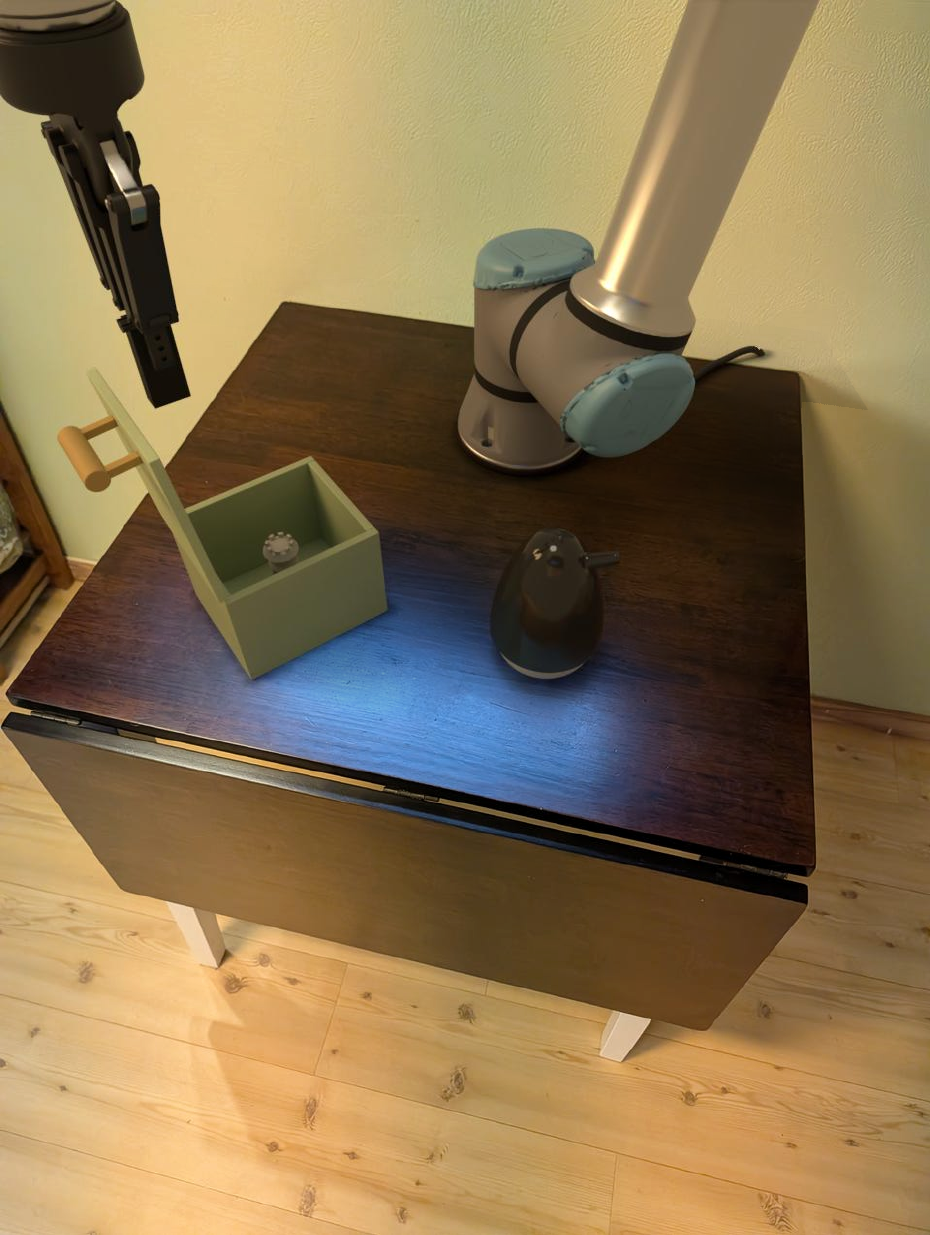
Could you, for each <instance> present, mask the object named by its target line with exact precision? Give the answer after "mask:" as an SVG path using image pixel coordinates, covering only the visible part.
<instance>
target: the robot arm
mask: <svg viewBox="0 0 930 1235" xmlns="http://www.w3.org/2000/svg"><path fill="white" fill-rule="evenodd" d="M820 1H821V0H687V2H686V6H685V7H684V12H683V14H682V16H681V19H680V22H679V25H678V28H677V30H676V34H675V37H674V39H673V41H672V42H673V43H672V45H671V48H670V51H669V54H668V56H667V59H666V62H665V65H664V68H663V70H662V74H661V76H660V79H659V82H658V85H657V87H656V90H655V92H654V95H653V99H652V101H651V104H650V106H649V110H648V112H647V116H646V119H645V121H644V124H643V127H642V130H641V133H640V135H639V138H638V141H637V144H636V146H635V149H634V153H633V154H632V158H631V160H630V165H629V166H628V168H627V172H626V175H625V178H624V181H623V183H622V185H621V186H622V187H621V189H620V192H619V195H618V197H617V200H616V203H615V206H614V209H613V212H612V214H611V217H610V220H609V222H608V223H609V224H608V226H607V228H606V231H605V234H604V236H603V240H602V242H601V245H600V249H599V251H598V253H597V257H596V259H595V249H594V246H593V244H592V243H591V242H590V241H589V239H587V238H586V237H584V236H583V235H581V234H579V233H576V232H574V231H568V230H565V229H559V228H549V227H548V228H547V227H535V228H525V229H518V230H514V231H509V232H506V233H505V232H504V233H502V234H500V235H498V236H496V237H494V238H492V239H490V240H489V241H488V242H485V244H484V245H483V247H482V248H481V249H480V250H479V251H478V253H477V256H476V258H475V266H474V274H473V280H472V286H473V289H474V290H473V300H474V302H473V312H474V313H473V353H474V354H473V376H472V378H471V382H470V383H469V386H468V389H467V391H466V394H465V396H464V398H463V402H462V404H461V406H460V409H459V414H458V419H457V436H458V442H459V444H460V446H461V448H462V449H463V450H464V452H465V453H466V454H467V455H468V456H469V457H470V458H471V459H472V460H474V461H475V462H476V463H478V464H479V465H481V466H483V467H485V468H486V469H490V470H492V471H495V472H498V473H502V474H506V475H512V476H538V475H545V474H549V473H552V472H555V471H559V470H561V469H563V468H565V467H567V466H569V465H570V464H571V463H573V462H574V461H576V460H577V459H578V458H579V457H580V456H581V455H582V453H583V452H584V451H585V452H586V453H588V454H590V455H592V456H595V457H599V458H617V457H623V456H626V455H630V454H633V453H635V452H637V451H638V452H639V451H640V450H642V449H643V448H646V447H647V446H649V445H650V444H651V443H653V442H654V441H657V440H658V439H659V438H661V437H662V436H663V435H664V434H665V433H667V432H668V431H669V430H670V429H671V428H672V427H674V426H675V424H676V423H677V422H678V421H679V420H680V418H681V417H682V415H683V414H684V413H685V411H686V409H687V408H688V406H689V405H690V403H691V400H692V399H693V395H694V391H695V387H696V386H695V385H696V381H697V380H699V379H700V378H701V377H703V376H704V375H706V374H707V373H709V372H710V371H712V370H714V369H716V368H719V367H720V366H722V365H725V364H727V363H729V362H731V361H733V360H735V359H737V358H740V357H741V356H744V355H747V354H755V355H757V356H758V357H764V356H766V352H765V351H764V349H762V348H761V349H760V350H759V349H758V348H757V347H758V346H757V347H755V346H756V345H748V346H743V347H740V348H738V349H736V350H733V351H731V352H729V353H728V354H725V355H723V356H721V357H719V358H717V359H714V360H711V361H710V362H708V363H706V364H705V365H703V366H701V367H700V368H699V369H698V370H696V371H695V372H694V371H693V369H692V368H691V364H690V363H689V362H688V361H687V359H686V358H685V357H682V356H683V353H684V351H685V349H686V348H687V345H688V342H689V339H690V337H691V336H692V333H693V331H694V329H695V326H696V322H697V319H696V315H695V313H694V310H693V308H692V306H691V303H690V300H689V297H690V295H691V292H692V291H693V288H694V286H695V284H696V281H697V278H698V276H699V275H700V272H701V270H702V268H703V265H704V263H705V261H706V258H707V256H708V254H709V252H710V250H711V247H712V245H713V243H714V241H715V238H716V236H717V233H718V232H719V229H720V227H721V225H722V222H723V220H724V218H725V216H726V213H727V212H728V209H729V207H730V204H731V202H732V200H733V197H734V195H735V193H736V191H737V188H738V187H739V184H740V182H741V179H742V177H743V175H744V173H745V171H746V168H747V166H748V164H749V161H750V159H751V158H752V154H753V152H754V150H755V148H756V145H757V143H758V141H759V138H760V137H761V134H762V133H763V129H764V127H765V125H766V123H767V121H768V118H769V116H770V114H771V112H772V109H773V106H774V104H775V102H776V100H777V98H778V95H779V93H780V92H781V89H782V87H783V85H784V82H785V80H786V78H787V75H788V73H789V71H790V69H791V66H792V64H793V62H794V60H795V57H796V55H797V53H798V50H799V48H800V46H801V44H802V41H803V39H804V37H805V35H806V32H807V30H808V28H809V25H810V23H811V21H812V19H813V16H814V14H815V12H816V10H817V7H818V5H819V2H820ZM130 14H131V13H130V12H129V10H128V9H127V8H126V7H124V6H123V4H122V3H121V2H119V0H0V97H1V99H2V100H4V101H5V103H6V104H8V105H9V106H11V107H12V108H15V109H16V110H18V111H22V112H24V113H28V114H33V115H38V116H47V117H48V118H49V120H45V121H41V122H40V128H41V129H40V132H41V135H42V137H43V138H44V140H46V142H47V145H48V149H49V151H50V154H51V155H52V157H53V158H54V160H55V163H56V165H57V167H58V170H59V172H60V173H59V174H60V175H61V177H62V180H63V183H64V186H65V189H66V191H67V194H68V196H69V199H70V202H71V205H72V206H73V210H74V211H75V212H74V213H75V215H76V217H77V220H78V223H79V225H80V228H81V231H82V233H83V235H84V238H85V241H86V244H87V246H88V248H89V251H90V253H91V256H92V259H93V262H94V265H95V266H96V269H97V272H98V274H99V281H100V283H101V285H102V286H103V288H104V289H106V291H110V293H111V296H112V303H113V305H114V307H115V308H117V310H118V311H119V312H125V314H122V315H120V317H119V318H116V319H115V320H116V323H117V325H118V327H119V329H120V331H121V333H122V334H126V338H127V341H128V344H129V346H130V350H131V353H132V355H133V359H134V361H135V365H136V368H137V371H138V374H139V377H140V381H141V384H142V386H143V389H144V392H145V395H146V398H147V400H148V401H149V402H150V404H151V406H152V407H153V409H155V410H156V409H159V408H163V407H165V406H167V405H168V406H169V405H170V404H173V403H176V402H178V401H182V400H184V399H188V398H190V397H191V396H192V395H191V391H190V388H189V384H188V381H187V376H186V373H185V370H184V366H183V363H182V359H181V355H180V351H179V349H178V348H179V347H178V345H177V341H176V338H175V334H174V330H173V328H172V325H174V324H177V323H179V322H180V318H179V316H180V314H179V311H178V308H177V302H176V296H175V291H174V285H173V280H172V275H171V270H170V266H169V260H168V255H167V250H166V245H165V240H164V234H163V230H162V228H163V227H162V222H161V220H162V219H161V197H160V193H159V192H158V190H157V188H156V187H155V186H154V185H153V183H149V184H144V185H143V180H142V177H141V174H140V168H141V164H142V160H141V156H140V153H139V149H138V146H137V142H136V140H135V137H134V135H133V133H132V132H131V130H125V131H124V128H123V125H122V121H120V119H119V110H120V108H121V107H122V106H123V104H125V103H126V102H127V101H129V100H132V99H134V98H136V96H137V95H138V94H140V92H141V91H142V89H143V87H144V84H145V80H146V78H145V71H144V66H143V63H142V59H141V54H140V51H139V47H138V43H137V39H136V34H135V31H134V27H133V23H132V18H131V15H130Z"/></svg>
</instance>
